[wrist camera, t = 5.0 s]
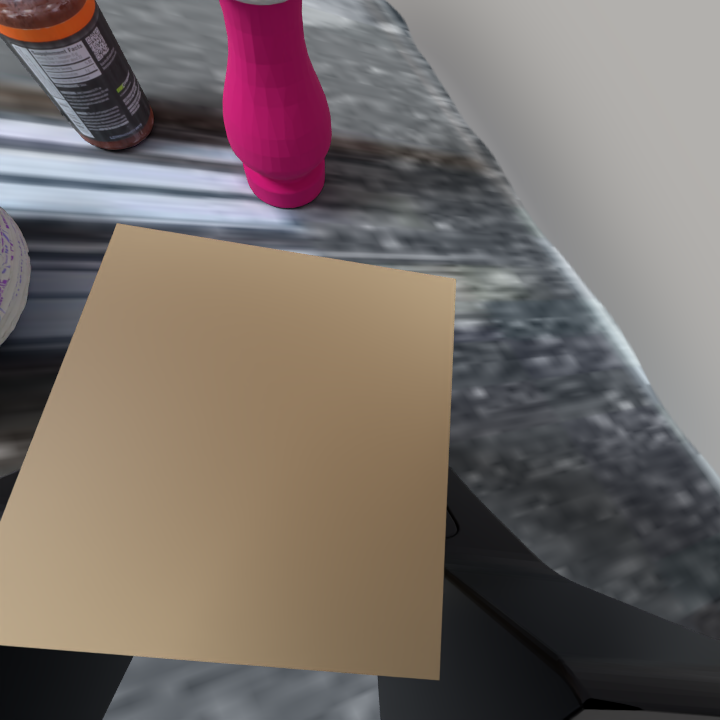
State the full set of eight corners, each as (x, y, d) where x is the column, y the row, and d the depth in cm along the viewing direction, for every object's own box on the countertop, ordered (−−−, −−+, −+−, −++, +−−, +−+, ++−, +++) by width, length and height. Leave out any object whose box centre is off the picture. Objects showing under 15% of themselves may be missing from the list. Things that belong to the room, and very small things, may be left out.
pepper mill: (318, 136, 28) (302, -525, 9) (340, 206, 27) (379, -417, 7) (233, 148, 27) (5, -586, 8) (251, 221, 25) (22, -471, 6)
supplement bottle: (80, 97, 27) (-89, -142, 16) (157, 96, 28) (47, -132, 17) (76, 156, 25) (-112, -62, 14) (157, 153, 26) (37, -56, 15)
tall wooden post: (342, 486, 16) (438, 680, 2) (272, 478, 16) (-46, 641, 2) (351, 416, 17) (456, 278, 3) (285, 407, 17) (116, 222, 3)
